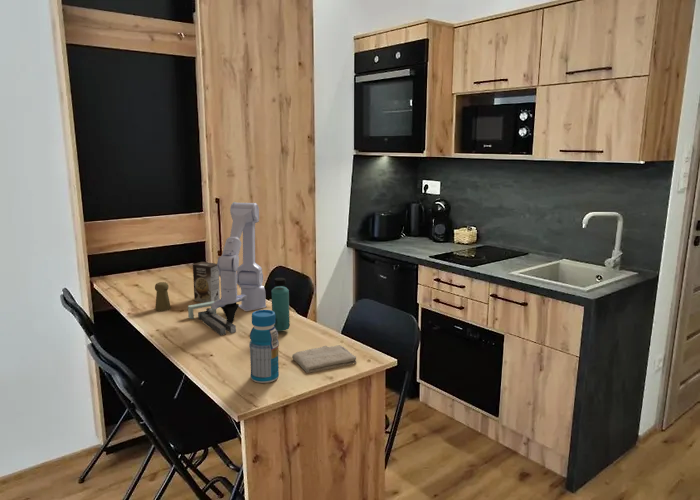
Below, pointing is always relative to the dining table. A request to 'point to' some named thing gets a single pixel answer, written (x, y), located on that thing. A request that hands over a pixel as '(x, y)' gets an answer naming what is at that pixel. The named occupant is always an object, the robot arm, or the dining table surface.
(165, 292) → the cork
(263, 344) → the beverage bottle
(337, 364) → the washcloth
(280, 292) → the beverage bottle
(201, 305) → the pale green notched block
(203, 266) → the coffee box
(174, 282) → the dining table surface
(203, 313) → the tong base
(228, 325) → the tong arm
